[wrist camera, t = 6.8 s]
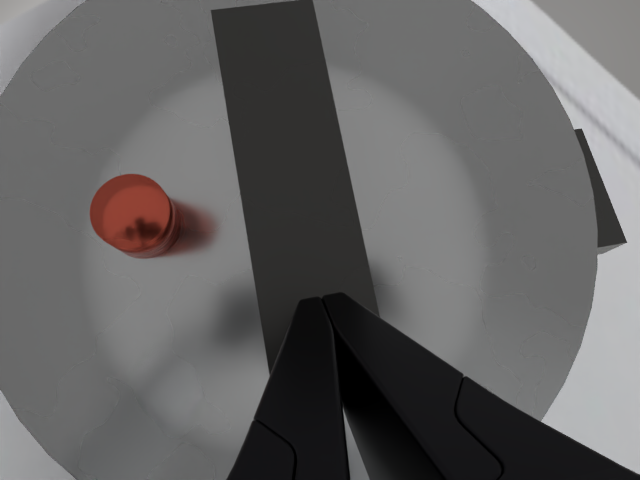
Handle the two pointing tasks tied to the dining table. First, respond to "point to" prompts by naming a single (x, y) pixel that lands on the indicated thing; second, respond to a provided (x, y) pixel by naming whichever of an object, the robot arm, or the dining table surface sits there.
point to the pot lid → (274, 214)
